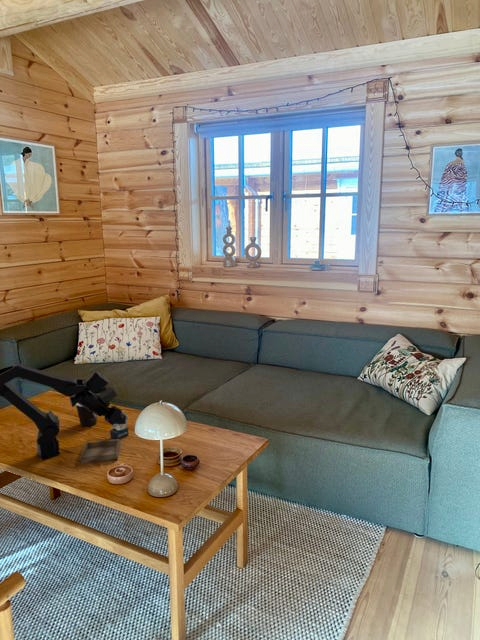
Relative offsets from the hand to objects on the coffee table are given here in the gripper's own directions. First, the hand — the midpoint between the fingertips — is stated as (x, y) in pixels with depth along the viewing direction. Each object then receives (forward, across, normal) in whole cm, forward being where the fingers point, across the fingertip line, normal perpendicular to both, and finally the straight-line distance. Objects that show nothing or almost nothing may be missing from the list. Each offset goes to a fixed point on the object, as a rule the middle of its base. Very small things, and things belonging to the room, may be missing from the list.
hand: (119, 419), depth 185 cm
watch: (+5, 0, +6) cm, 7 cm away
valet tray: (-4, -8, +14) cm, 16 cm away
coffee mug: (+4, +20, +7) cm, 22 cm away
